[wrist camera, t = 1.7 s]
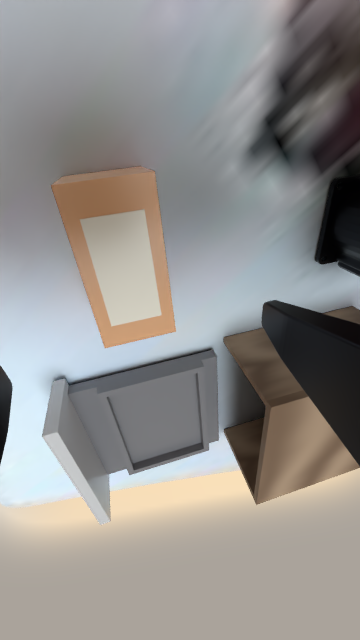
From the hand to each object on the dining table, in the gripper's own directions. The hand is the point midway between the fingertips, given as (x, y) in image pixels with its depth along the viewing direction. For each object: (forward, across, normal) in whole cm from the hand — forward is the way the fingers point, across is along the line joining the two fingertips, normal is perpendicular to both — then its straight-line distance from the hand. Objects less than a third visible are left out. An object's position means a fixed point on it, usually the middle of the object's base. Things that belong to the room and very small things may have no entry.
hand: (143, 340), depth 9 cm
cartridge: (+11, 0, 0) cm, 11 cm away
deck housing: (+11, -14, +18) cm, 25 cm away
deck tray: (+11, +1, +18) cm, 20 cm away
